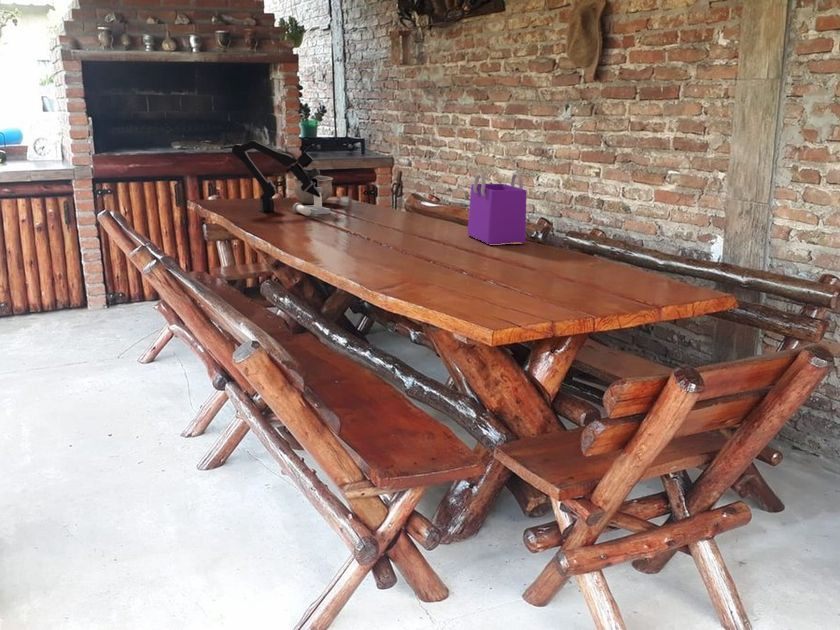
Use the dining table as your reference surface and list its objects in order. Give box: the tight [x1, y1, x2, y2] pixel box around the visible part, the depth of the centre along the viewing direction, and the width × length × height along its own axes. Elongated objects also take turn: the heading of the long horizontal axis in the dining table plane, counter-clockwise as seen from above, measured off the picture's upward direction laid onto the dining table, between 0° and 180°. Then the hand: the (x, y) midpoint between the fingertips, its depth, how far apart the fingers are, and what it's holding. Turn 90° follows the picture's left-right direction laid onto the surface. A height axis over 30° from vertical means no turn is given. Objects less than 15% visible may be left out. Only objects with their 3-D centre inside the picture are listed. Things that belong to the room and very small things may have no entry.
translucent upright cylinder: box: [313, 187, 323, 209], centre depth 432 cm, size 5×5×12 cm
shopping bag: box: [467, 171, 527, 244], centre depth 362 cm, size 28×22×30 cm
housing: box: [304, 204, 331, 216], centre depth 436 cm, size 16×9×2 cm, turn 40°
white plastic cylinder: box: [292, 202, 311, 217], centre depth 427 cm, size 12×5×5 cm
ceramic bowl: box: [293, 175, 334, 205], centre depth 468 cm, size 22×22×15 cm
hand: (321, 196), depth 431 cm, fingers open, 6 cm apart
